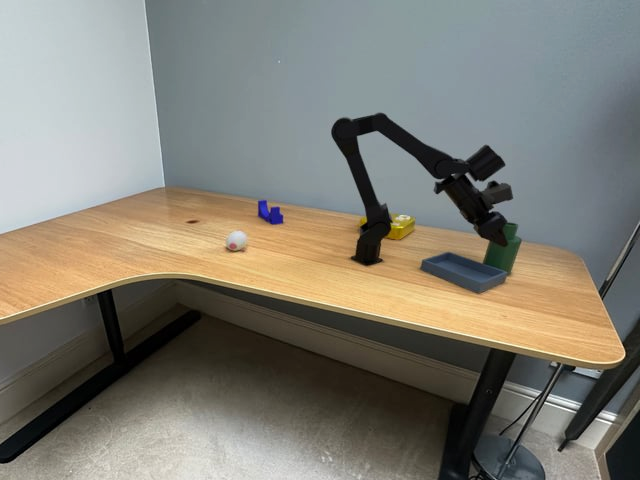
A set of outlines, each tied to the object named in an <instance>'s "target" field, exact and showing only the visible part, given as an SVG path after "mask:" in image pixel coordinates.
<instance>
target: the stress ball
mask: <svg viewBox="0 0 640 480" xmlns="http://www.w3.org/2000/svg"><path fill="white" fill-rule="evenodd" d="M247 243H248V236H247V235H246V233H244V231H240V230H235V231H232V232H230V233H229V234H228V235H227V237H226V238H225V245H226V246H225V247H226V248H227V249H229V251H230V250H231V251H240V250H242V253H243V252H245V250H244V249H243V248H245V246H246V245H247Z"/></svg>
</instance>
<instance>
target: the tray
mask: <svg viewBox="0 0 640 480" xmlns="http://www.w3.org/2000/svg"><path fill="white" fill-rule="evenodd" d="M419 270H420V271H422V272H426V273H428V274H430V275H432V276H435V277H437V278H440V279H443V280H445V281H447V282H448V283H449V282H450V283H452V284H453V285H457V286H459V287H462V288H464V289H466V290H469V291H471V292H474V293H476V294H481V293H483V292H485V291H488V290H490V289H493V288H494V287H497V286H499V285H501V284H504V283H505V282H506V280H507V277H508V276H507V274H508V272H506V271H503V270H500V269H497V268H494V267H491V266H489V265H486V264H483V262H480V261H477V260H475V259H471V258H469V257H466V256H462V255H460V254H457V253H454V252H451V251H446V252H441V253H440V254H437V255H434V256H429V257H426V258H424V259H422V260H421V263H420V268H419Z"/></svg>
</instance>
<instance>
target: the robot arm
mask: <svg viewBox="0 0 640 480" xmlns="http://www.w3.org/2000/svg"><path fill="white" fill-rule="evenodd" d="M330 130H331V131H330V134H331V138H332V140H333V141H334V144H335V145H336V147H337V148H338V149H339V151H340V152H341V153H342V155H343V157H344V158H345V160H346V163H347V165H348V167H349V170H350V173H351V175H352V178H353V181H354V183H355V185H356V189H357V191H358V194H359V196H360V199H361V201H362V204H363V206H364V212H365V216H366V218H367V222H366V223H364V224H363V225H362V226H360V227H359V226H358V232H359V237H358V238H357V240H356V246H355V254H354V255H351V256H350V259H351V260H353V261H356V262H358V263H359V264H362V265H364V266H371V265H374V264H377V263H381V262H383V260H384V259H383V258H381V257H380V254H381V248H382V241H383V239H385V237H386V236H387V235H388V234H389V233H390V231H391V223H393V221H392V217H391V215H390V214H389V213H390V212H389V206H388V204H387V202H385V203H383V204H381V202H380V201H379V199H378V197H377V194H376V192H375V188H374V187H373V183H372V181H371V177H370V175H369V172H368V170H367V168H366V165H365V161H364V159H363V156H362V154H361V151H360V146H359V139H358V137H359V136H363V135H367V134H371V133H375V132H378V133H380V134H381V135H383V136H384V137H385V138H387V139H388V140H389V141H391V142H392V143H393V144H394V145H397V146H398V148H399V147H400V148H401V149H402V150H403V151H405V152H407V153H408V154H409V155H411V156H412V157H413V158H415V160H417V162H419V164H420V165H421V166H422V167H423V168H424V169H425V171H427V172H428V173H429V175H430V176H432V177H433V178H434V179H436V180H439V181H435V182H434V187H433V192H434V194H435V195H439V194H440V193H442V192H444V193H445V194H446V196H447V197H448V198H449V199H450V200H451V202H452V203H453V204H454V205H455V207H456V208H458V210H459V214H460V215H461V216H462V218H463V219H464V220H465V221H466V222H467V223H469V224H471V225H473V227H472V228H473V230H474V231H475V233H476V234H477V235H478V236H479V237H480V238H481V239H484V240H487V241H488V242H489V241H491V242H493V243H495V244H498V245H500V246H502V247H504V248H505V247H506V246H508V242H507V240H506V237H505V234H504V232H503V227H504V226H505V225H506V223H507V222H509V221H508V220H507V218H506V217H505V216H504V215H503V214H502V213H500V211H495V210H494V211H493V209H495V206H494V205H498V204H500V203H504V202H509V201H512V200H514V194H513V190H512V185H510V184H509V183H507V182H500V183H499V182H498V181H497V180H490V181H488V182H487V184H486V187H485V188H484V189H483V190H479V188H477V187H476V186H475V185H474V184H473V182H471V180H470V178H471V179H472V181H474V182H475V183H477V182H482V183H483V182H486V180H488V179H489V178H491V177H492V176H493V175H495V174H496V173H498V172H499V171H500V170H501V169H503V168H505V167H506V163H505V161H504V159H503V158H502V156H501V155H499V154H498V153H497V152H496V151H495V150H493V149H492V148H491V146H490V145H489V144H483V146H481V147H479V149H478V150H477V151H476V152H474V153H473V154H472V155H471V156H469V157H468V158H467V159H466V160H465V159H462V158H456V157H453V156H451V155H450V154H448V153H447V152H445V151H443V150H440V149H438V148H436V147H433V146H431V145H429V144H426V143H424V142H423V141H421V140H420V139H419V138H418V137H416V136H414V135H413V134H411V133H410V132H409V131H407V130H406V129H404V127H402V126H400V125H399V124H398V123H396V122H394V121H393V120H392V119H390V117H389V116H388V115H387V114H386V113H384V112H381V111H379V112H376V113H374V114H370V115H365V116H361V117H356V118H350V117H348V116H342V117H340V118H338V119H336V120H335V122H334V123H333V124H332V126H331V129H330ZM467 174H468V176H469V177H470V178H469V177H468V176H467ZM440 180H441V181H440Z"/></svg>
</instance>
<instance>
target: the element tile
mask: <svg viewBox="0 0 640 480" xmlns="http://www.w3.org/2000/svg"><path fill="white" fill-rule="evenodd" d="M389 214H390V215H391V217H392V221H393V223H391V231H390V233H389V234H388V235H387V236H386V237H384V239H390V240H394V241H398V240H399V241H400V240H402V239H403V238H405V237H406V236H407V235H409V234H410V233H411V232H413V230H415V229H414V228H415V224H416V218H415V217H414V216H410V215H405V214H399V213H394V212H389ZM366 222H367V218H366V215H364V216H363V217H361V218H360V219H359V224H358V228H359V227H360V226H362V225H363V224H364V223H366Z"/></svg>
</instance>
